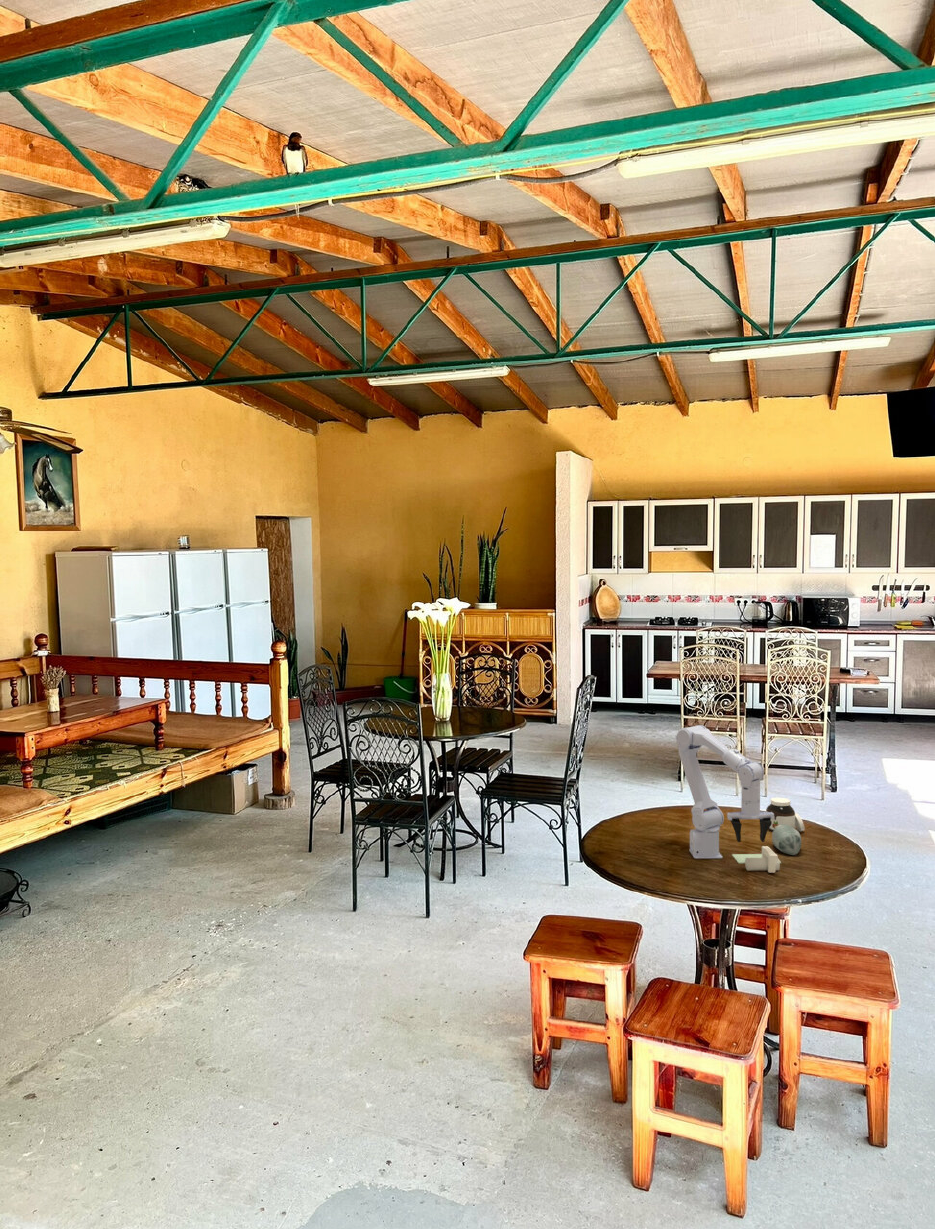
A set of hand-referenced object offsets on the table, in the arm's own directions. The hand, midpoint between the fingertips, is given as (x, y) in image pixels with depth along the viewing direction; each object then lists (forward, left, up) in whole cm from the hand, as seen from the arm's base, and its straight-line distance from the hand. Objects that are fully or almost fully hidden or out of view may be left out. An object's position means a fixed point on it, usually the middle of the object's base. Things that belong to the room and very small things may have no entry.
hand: (750, 841), depth 282 cm
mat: (+5, +9, -9) cm, 14 cm away
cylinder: (+4, 0, -10) cm, 10 cm away
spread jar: (+25, +39, -10) cm, 47 cm away
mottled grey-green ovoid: (+18, +18, -10) cm, 27 cm away
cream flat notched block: (+6, 0, -9) cm, 11 cm away
